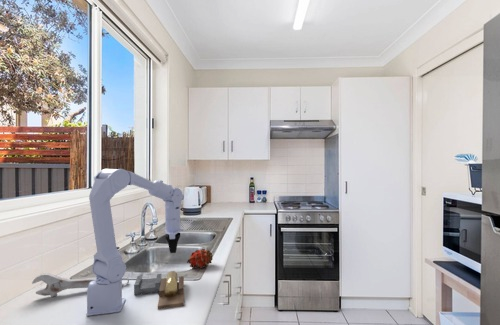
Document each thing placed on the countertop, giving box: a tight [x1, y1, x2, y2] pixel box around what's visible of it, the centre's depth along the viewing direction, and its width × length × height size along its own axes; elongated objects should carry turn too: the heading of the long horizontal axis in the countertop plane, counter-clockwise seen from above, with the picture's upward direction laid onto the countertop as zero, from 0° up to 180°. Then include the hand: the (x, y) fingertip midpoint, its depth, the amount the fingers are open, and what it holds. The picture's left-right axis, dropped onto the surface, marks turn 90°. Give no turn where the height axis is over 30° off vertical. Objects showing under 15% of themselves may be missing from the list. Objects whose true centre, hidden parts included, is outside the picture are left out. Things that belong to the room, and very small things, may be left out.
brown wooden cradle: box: [157, 276, 185, 310], centre depth 94 cm, size 8×16×3 cm, turn 14°
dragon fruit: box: [186, 247, 214, 269], centre depth 119 cm, size 8×8×12 cm
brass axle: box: [165, 270, 179, 297], centre depth 97 cm, size 12×4×4 cm, turn 14°
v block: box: [133, 273, 162, 296], centre depth 99 cm, size 8×8×4 cm
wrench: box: [31, 272, 130, 298], centre depth 98 cm, size 8×2×30 cm
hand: (173, 252), depth 108 cm, fingers closed
